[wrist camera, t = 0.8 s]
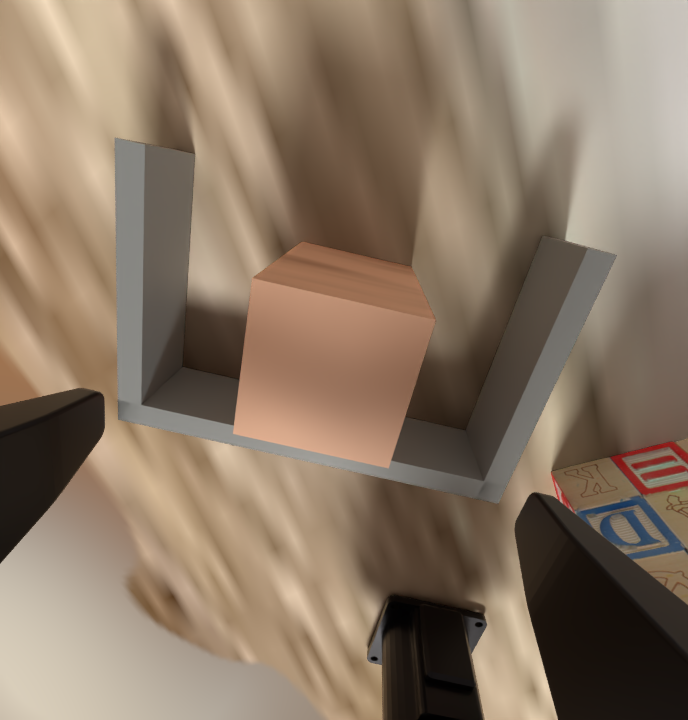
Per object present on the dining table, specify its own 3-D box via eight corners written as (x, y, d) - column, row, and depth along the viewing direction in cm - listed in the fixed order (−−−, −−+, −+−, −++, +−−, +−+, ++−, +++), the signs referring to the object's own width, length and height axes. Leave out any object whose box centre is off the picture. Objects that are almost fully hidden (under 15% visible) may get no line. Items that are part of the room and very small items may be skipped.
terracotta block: (383, 366, 20) (388, 468, 13) (285, 343, 20) (232, 433, 13) (411, 266, 18) (436, 320, 11) (302, 241, 18) (252, 278, 11)
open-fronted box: (477, 450, 22) (498, 503, 18) (162, 379, 21) (118, 419, 18) (565, 240, 17) (617, 255, 14) (171, 148, 17) (114, 137, 13)
